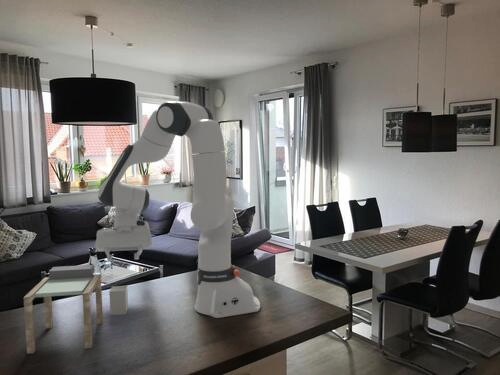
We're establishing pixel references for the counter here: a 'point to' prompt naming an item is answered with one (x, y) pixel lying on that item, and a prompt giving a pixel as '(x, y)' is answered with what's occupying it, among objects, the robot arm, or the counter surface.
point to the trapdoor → (67, 281)
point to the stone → (118, 300)
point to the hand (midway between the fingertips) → (123, 259)
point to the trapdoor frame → (49, 317)
